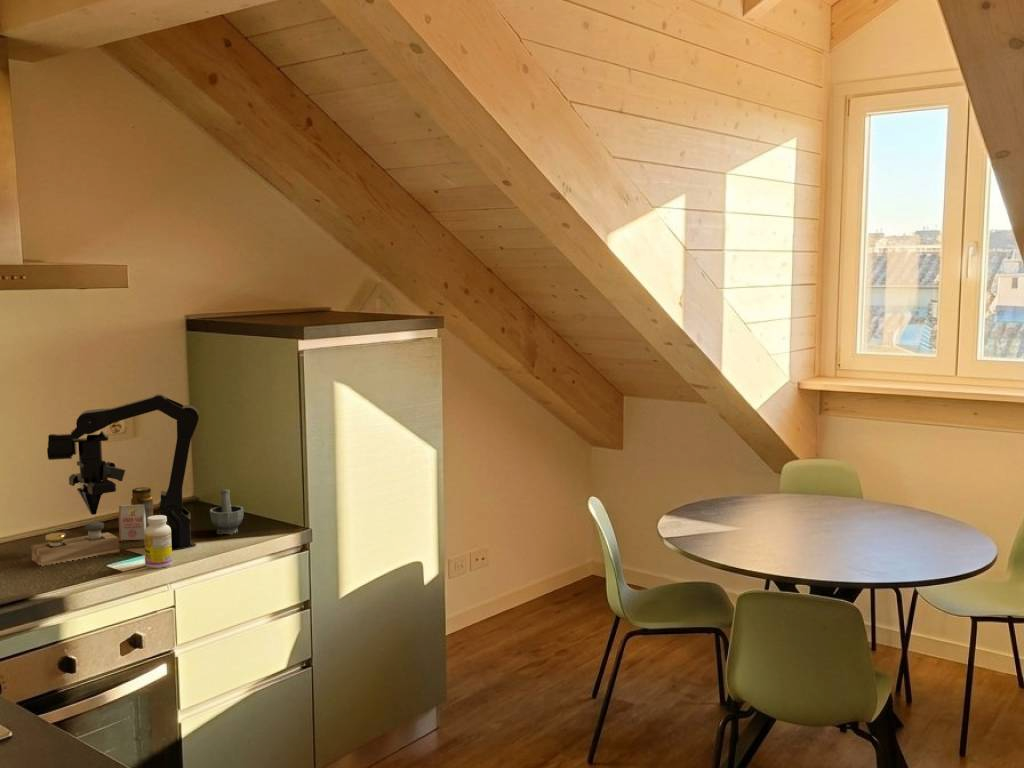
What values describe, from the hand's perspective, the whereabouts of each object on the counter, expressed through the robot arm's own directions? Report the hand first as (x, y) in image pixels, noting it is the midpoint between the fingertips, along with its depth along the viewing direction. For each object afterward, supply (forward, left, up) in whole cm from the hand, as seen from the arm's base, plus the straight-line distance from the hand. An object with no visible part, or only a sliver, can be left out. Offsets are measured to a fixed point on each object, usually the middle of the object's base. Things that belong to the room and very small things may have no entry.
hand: (93, 514), depth 263 cm
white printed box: (+7, -13, -11) cm, 18 cm away
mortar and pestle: (-3, -37, -11) cm, 39 cm away
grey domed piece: (0, 0, -7) cm, 7 cm away
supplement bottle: (-23, -8, -11) cm, 27 cm away
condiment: (+17, -20, -11) cm, 29 cm away
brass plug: (0, +10, -8) cm, 13 cm away
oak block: (0, +5, -11) cm, 12 cm away
